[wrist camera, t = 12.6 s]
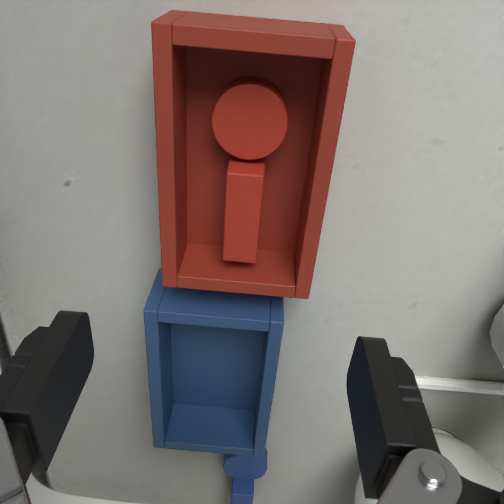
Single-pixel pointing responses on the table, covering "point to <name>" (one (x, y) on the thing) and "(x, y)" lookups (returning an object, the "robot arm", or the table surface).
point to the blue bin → (211, 367)
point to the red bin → (217, 159)
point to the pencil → (460, 385)
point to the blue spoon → (244, 475)
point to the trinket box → (464, 461)
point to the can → (498, 335)
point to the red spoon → (247, 156)
